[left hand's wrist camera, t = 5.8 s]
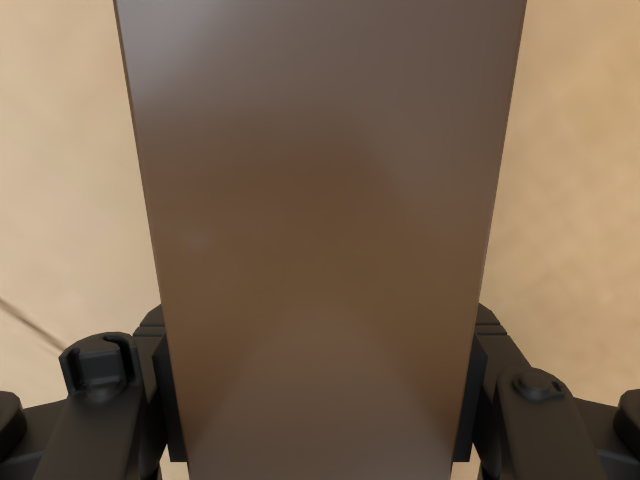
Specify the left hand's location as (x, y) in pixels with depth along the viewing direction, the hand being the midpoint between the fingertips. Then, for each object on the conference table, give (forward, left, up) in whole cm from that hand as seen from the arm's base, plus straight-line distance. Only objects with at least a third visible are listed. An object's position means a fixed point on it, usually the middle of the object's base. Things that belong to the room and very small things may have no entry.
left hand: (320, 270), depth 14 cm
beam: (+2, +17, -1) cm, 17 cm away
